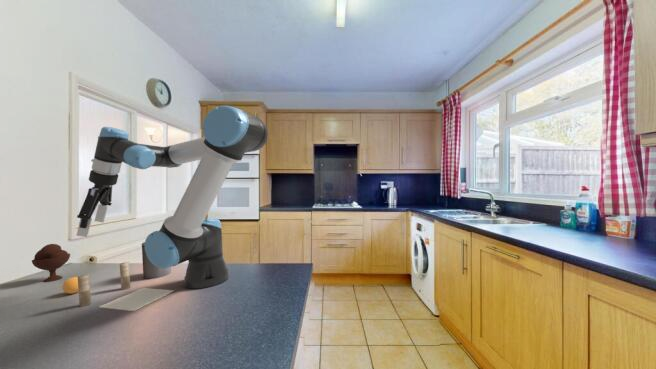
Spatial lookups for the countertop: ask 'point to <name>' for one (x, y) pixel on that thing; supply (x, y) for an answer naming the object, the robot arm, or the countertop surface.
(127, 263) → the right post
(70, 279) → the ball
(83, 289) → the left post
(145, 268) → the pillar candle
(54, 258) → the ice cream bowl
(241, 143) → the robot arm
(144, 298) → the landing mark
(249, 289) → the countertop surface
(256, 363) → the countertop surface
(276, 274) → the countertop surface
